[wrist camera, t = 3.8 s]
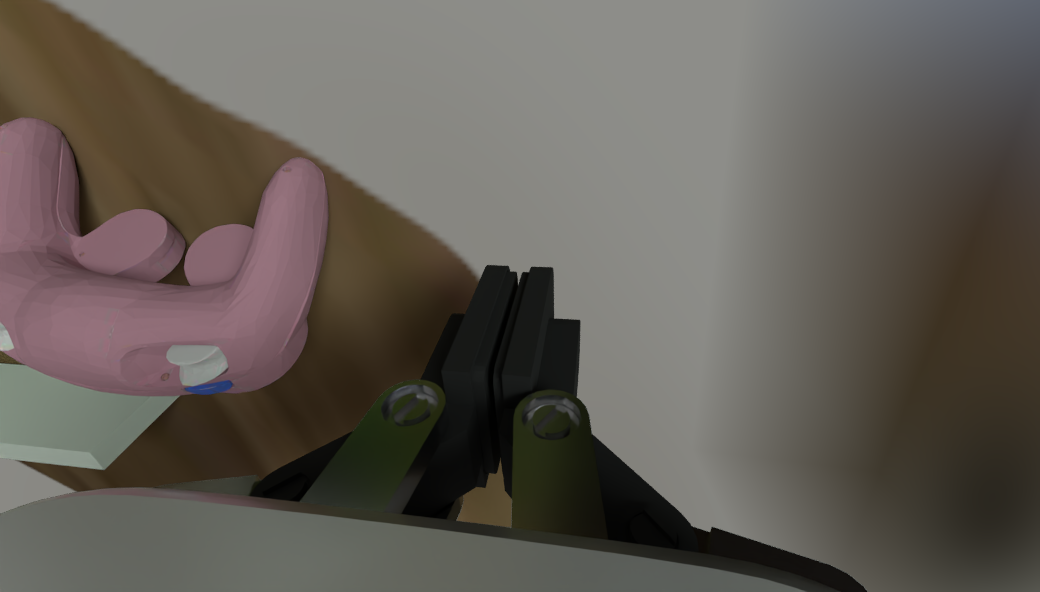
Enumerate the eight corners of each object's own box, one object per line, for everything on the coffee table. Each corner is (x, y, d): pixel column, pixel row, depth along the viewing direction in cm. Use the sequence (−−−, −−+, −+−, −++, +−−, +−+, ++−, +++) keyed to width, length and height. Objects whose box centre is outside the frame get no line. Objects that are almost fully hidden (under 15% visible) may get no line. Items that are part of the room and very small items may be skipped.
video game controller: (117, 201, 18) (-16, 376, 15) (4, 98, 14) (-216, 307, 11) (370, 241, 17) (292, 436, 14) (327, 144, 13) (202, 385, 10)
